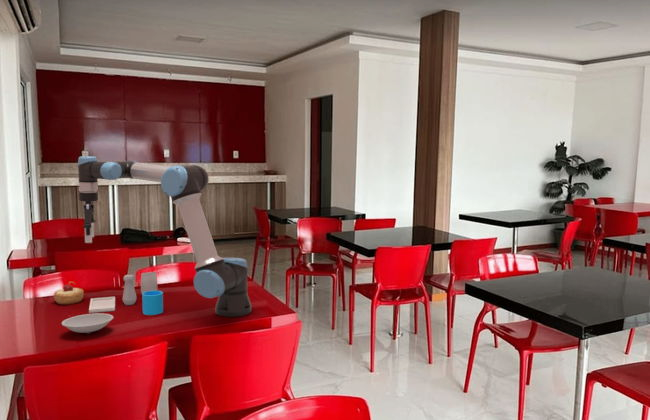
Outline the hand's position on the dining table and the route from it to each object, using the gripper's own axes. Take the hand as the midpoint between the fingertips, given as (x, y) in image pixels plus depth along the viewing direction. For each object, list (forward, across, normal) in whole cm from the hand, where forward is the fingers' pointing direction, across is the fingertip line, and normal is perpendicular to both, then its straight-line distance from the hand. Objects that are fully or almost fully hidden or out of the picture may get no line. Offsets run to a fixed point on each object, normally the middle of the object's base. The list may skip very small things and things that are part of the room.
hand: (89, 239), depth 231 cm
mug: (+28, +22, +25) cm, 44 cm away
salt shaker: (+28, +9, +16) cm, 33 cm away
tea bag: (+28, -6, +25) cm, 38 cm away
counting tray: (+28, +10, +5) cm, 30 cm away
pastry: (+28, -2, -9) cm, 30 cm away
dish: (+28, +43, +2) cm, 51 cm away
